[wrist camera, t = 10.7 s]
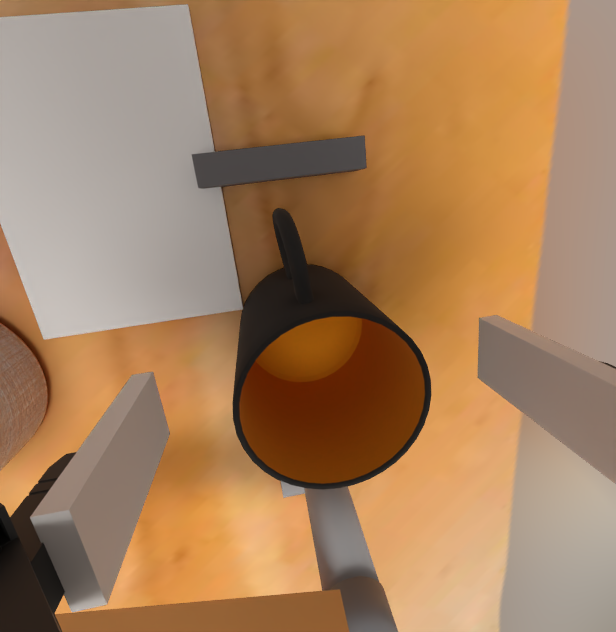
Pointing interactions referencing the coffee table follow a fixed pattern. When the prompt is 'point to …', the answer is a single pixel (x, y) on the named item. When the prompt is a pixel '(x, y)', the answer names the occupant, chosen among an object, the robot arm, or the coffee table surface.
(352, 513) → the dock
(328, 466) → the mug
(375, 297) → the coffee table surface
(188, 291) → the mat
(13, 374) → the planter
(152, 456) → the robot arm
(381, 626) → the wooden bar
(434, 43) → the coffee table surface
